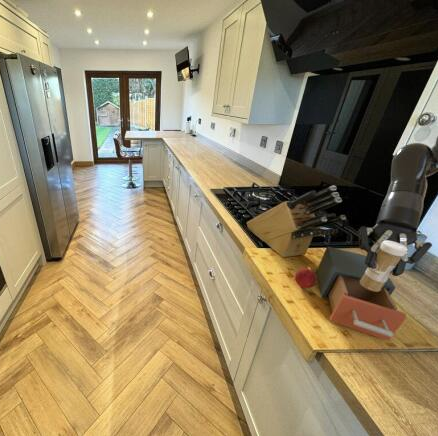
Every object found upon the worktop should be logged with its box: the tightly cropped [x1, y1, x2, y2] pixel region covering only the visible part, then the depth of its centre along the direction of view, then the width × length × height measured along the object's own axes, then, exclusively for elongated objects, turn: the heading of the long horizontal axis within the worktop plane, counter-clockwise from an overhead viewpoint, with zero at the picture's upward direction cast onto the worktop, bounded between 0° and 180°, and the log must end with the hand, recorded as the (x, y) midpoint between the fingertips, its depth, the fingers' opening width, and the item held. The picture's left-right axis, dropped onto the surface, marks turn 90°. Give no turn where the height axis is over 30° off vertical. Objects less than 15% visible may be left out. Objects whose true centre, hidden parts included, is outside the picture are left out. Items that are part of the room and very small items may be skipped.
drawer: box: [328, 274, 408, 342], centre depth 65 cm, size 20×13×9 cm, turn 152°
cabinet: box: [315, 246, 396, 301], centre depth 76 cm, size 16×14×11 cm
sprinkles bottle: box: [359, 240, 409, 292], centre depth 60 cm, size 5×5×13 cm
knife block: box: [246, 185, 347, 258], centre depth 95 cm, size 11×35×31 cm, turn 12°
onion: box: [294, 266, 317, 289], centre depth 77 cm, size 6×6×8 cm
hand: (382, 270), depth 59 cm, fingers closed on sprinkles bottle, 4 cm apart
